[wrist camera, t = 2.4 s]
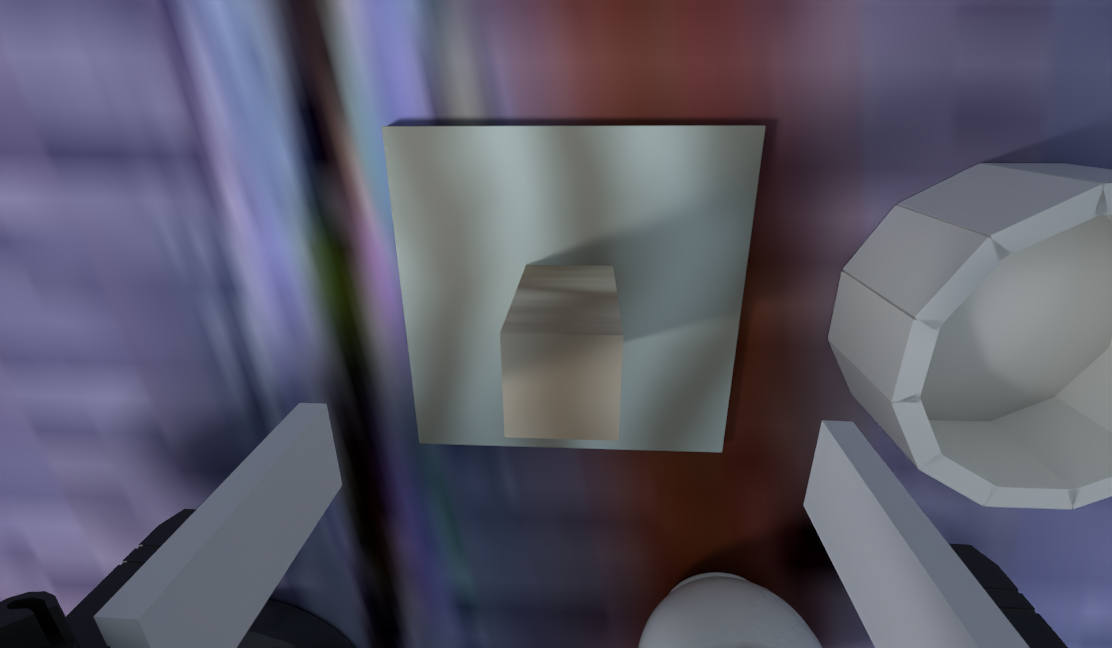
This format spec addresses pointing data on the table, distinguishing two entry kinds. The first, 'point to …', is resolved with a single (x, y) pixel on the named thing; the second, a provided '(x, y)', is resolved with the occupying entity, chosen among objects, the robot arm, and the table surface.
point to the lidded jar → (725, 617)
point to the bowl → (990, 332)
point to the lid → (573, 280)
